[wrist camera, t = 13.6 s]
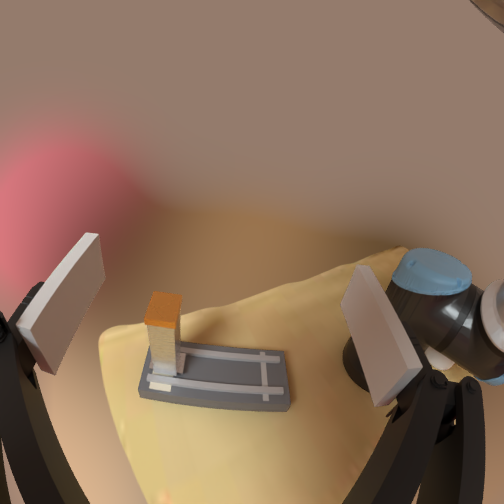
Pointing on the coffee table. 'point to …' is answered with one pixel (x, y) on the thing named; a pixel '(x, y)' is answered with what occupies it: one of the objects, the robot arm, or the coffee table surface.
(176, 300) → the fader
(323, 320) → the coffee table surface
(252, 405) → the console
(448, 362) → the mug
